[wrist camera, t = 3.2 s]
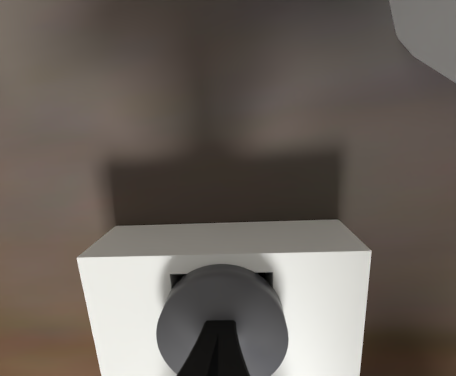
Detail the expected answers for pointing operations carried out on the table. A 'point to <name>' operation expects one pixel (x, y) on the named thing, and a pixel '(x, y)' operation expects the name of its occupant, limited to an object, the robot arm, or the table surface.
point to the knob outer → (224, 316)
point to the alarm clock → (428, 32)
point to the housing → (234, 255)
